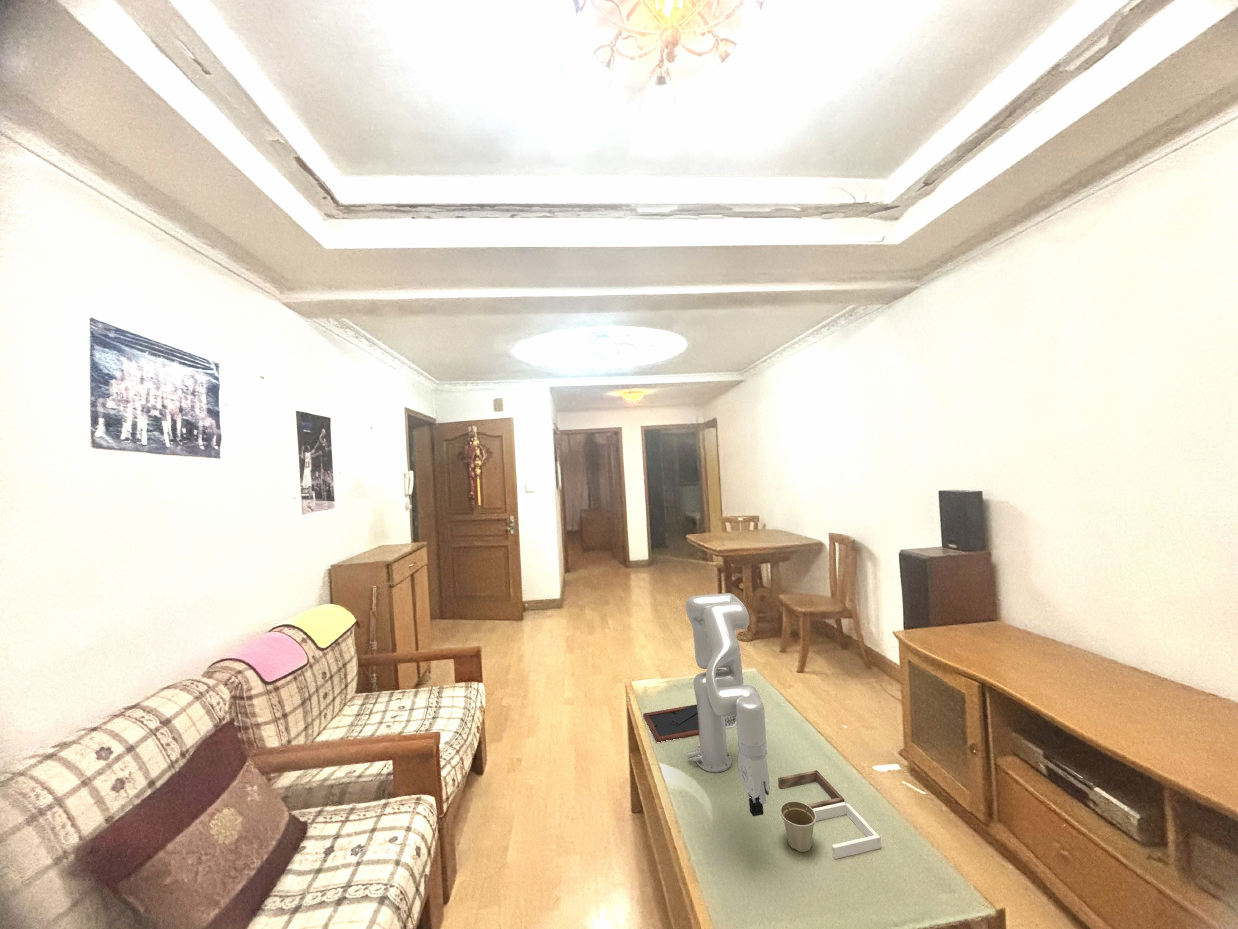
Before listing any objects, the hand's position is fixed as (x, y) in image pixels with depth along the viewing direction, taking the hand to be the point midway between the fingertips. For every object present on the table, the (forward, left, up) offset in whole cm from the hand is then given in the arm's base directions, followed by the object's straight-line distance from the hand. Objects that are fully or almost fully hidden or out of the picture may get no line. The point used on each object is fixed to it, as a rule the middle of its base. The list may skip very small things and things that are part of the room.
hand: (756, 813), depth 131 cm
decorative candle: (+18, +63, -12) cm, 66 cm away
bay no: (+26, +16, -11) cm, 32 cm away
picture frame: (-1, +67, -12) cm, 68 cm away
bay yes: (+26, +1, -11) cm, 28 cm away
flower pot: (+13, +1, -12) cm, 17 cm away
